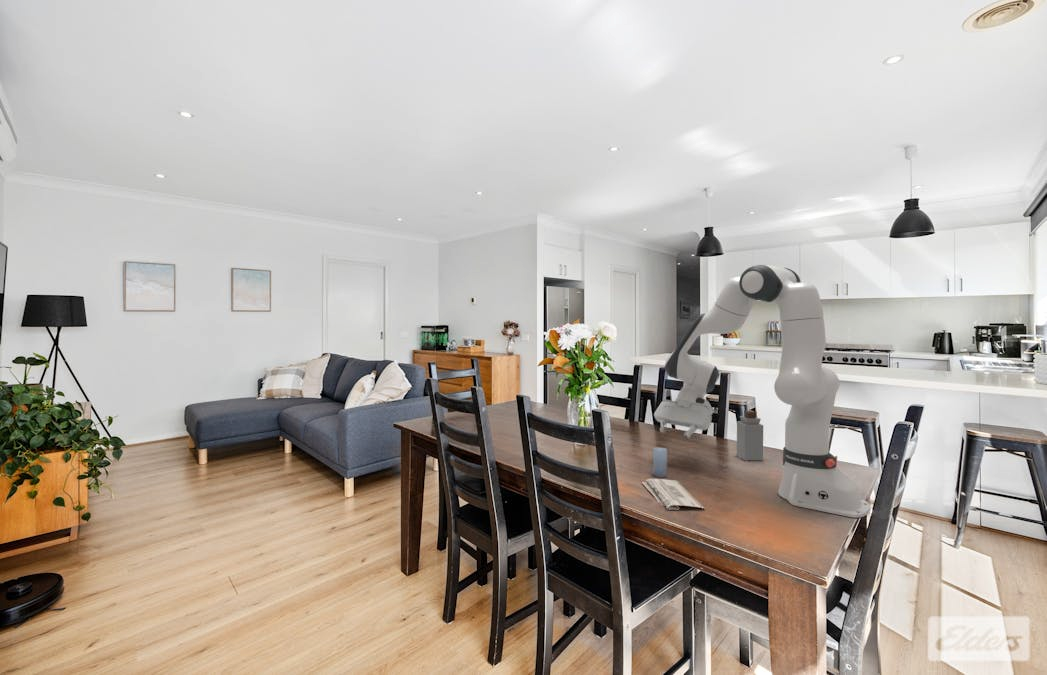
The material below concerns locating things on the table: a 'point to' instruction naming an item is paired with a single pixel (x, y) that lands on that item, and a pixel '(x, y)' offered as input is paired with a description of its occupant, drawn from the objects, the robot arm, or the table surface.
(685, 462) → the table surface
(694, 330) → the robot arm
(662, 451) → the blue peg
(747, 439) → the perfume bottle
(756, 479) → the table surface
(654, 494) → the newspaper
